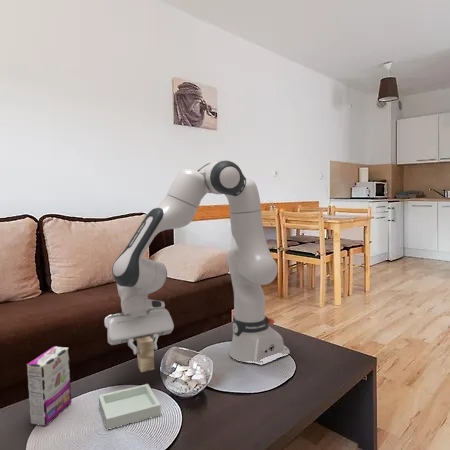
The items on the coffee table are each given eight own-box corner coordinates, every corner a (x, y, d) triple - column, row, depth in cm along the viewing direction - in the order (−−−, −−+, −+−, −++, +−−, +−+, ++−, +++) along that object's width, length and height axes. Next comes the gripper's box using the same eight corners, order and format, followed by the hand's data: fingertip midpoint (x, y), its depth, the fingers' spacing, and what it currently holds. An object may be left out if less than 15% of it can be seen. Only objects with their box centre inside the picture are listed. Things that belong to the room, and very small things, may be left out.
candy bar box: (56, 400, 109) (54, 345, 107) (71, 402, 108) (70, 347, 106) (28, 424, 98) (25, 363, 96) (45, 427, 97) (43, 365, 95)
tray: (148, 393, 113) (147, 383, 113) (160, 415, 103) (160, 404, 102) (98, 405, 107) (98, 395, 106) (106, 430, 96) (106, 419, 96)
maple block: (150, 363, 119) (149, 335, 118) (154, 369, 115) (153, 340, 114) (137, 366, 117) (136, 338, 116) (141, 372, 114) (140, 343, 113)
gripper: (103, 311, 116) (111, 355, 108) (168, 300, 125) (179, 340, 117) (102, 320, 120) (109, 363, 113) (164, 310, 129) (175, 348, 122)
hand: (146, 351), depth 115 cm, fingers closed on maple block, 4 cm apart
